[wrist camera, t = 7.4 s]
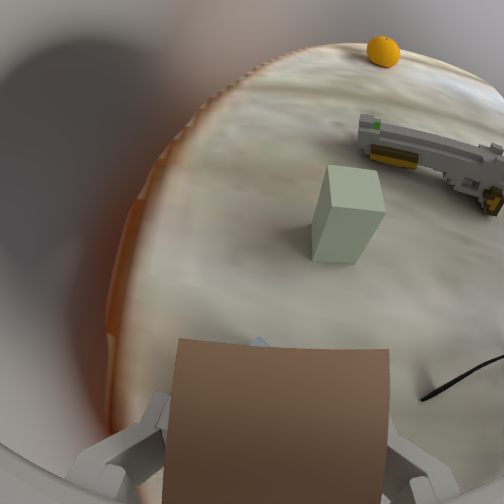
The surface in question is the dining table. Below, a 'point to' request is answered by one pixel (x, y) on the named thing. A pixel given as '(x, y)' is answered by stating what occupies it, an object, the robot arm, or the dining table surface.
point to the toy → (438, 159)
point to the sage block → (346, 214)
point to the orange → (383, 51)
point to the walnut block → (276, 425)
